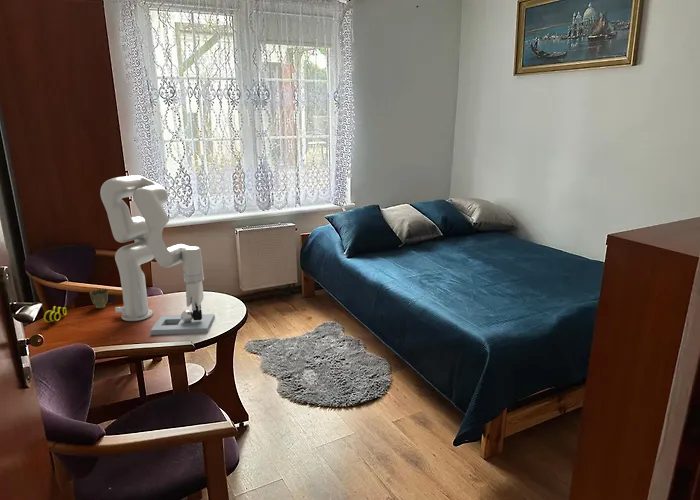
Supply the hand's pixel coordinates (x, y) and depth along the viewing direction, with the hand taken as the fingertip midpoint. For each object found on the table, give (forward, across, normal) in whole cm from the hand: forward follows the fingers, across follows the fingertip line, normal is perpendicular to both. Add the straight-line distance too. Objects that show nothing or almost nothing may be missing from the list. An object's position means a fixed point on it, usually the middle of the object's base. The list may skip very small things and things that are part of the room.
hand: (197, 319), depth 202 cm
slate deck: (+3, 0, -6) cm, 6 cm away
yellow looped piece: (+3, -13, -62) cm, 64 cm away
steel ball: (-2, 0, -4) cm, 4 cm away
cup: (+3, -25, -49) cm, 55 cm away
